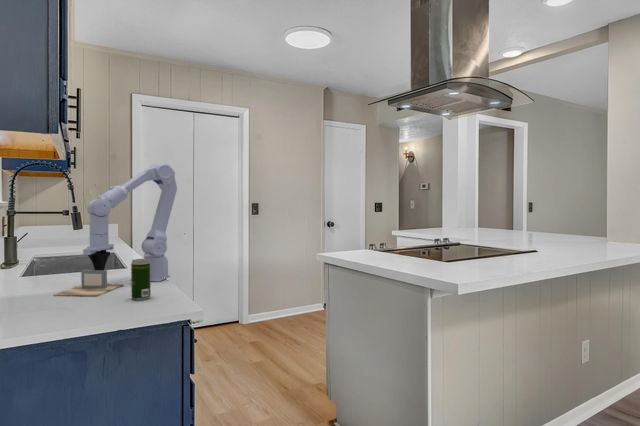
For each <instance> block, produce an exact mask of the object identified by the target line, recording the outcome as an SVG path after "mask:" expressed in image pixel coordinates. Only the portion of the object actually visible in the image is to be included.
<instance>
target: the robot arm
mask: <svg viewBox="0 0 640 426" xmlns="http://www.w3.org/2000/svg"><path fill="white" fill-rule="evenodd" d="M175 175H176V172H175V170H174V169H173V168H172V166H171V165H170V164H169V163H164V162H163V163H160V164H152V165H150V166H149V167H147V168H146V167H145V168H144V169H143V170H141V171H139V172H138V173H137V174H136V175H134V176H132V178H131V179H129V180H128V181H126V182H125V183H124V184H122V185H115V186H114V185H111V186H110V187H109V188H108V189H109V190H107V191H105V192H104V193H103V194H99V195H98V196H97V198H98V199H92V200H91V201H90V202H89V203H88V205H87V207H86V211H87V212H88V213H89V245H88V246H86V248H83V250H82V252H83V253H82V255H83V256H87V257H88V258H89V259H90V261H91V263H92V265H93V268H94V269H93V270H105V269H106V264H107V261H108V258H109V257H110V256H111V251H112V250H114V249H115V245H114V244H112V243H109V214H110V212H111V210H112V209H114V208H115V207H117V206H118V205H120V204H121V203H122V202H124V201H125V200H126V199H128V195H129V193H130V192H132V191H133V190H135V189H137V188H138V187H139V186H141V185H143V184H144V183H146V182H148V181H149V182H150V181H153V183H155V184H156V185H158V187H159V189H160V196H159V199H158V203H157V206H156V210H155V214H154V218H153V221H152V225H151V229H150V230H149V231H148V233H147V234H146V237H145V239H143V240H142V243H141V245H140V246H141V251H143V253H144V254H143V259H149V261H150V282H161V281H165V280H166V279H168V278H171V275H170V274H169V260H168V258H167V256H165V254H166V252H167V250H168V245H167V240H168V237H167V234H166V233H167V232H166V231H167V227H168V224H169V220H170V216H171V213H172V210H173V206H174V203H175V198H176V195H177V191H178V186H177V182H176V177H175ZM164 277H165V278H166V279H165V278H164Z"/></svg>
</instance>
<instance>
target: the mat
mask: <svg viewBox="0 0 640 426" xmlns="http://www.w3.org/2000/svg"><path fill="white" fill-rule="evenodd" d="M121 287H124V284H123V283H122V284H119V283H118V284H117V283H116V284H115V283H107V288H105V289H96V288H82V284H81V285H78V286H74V287H71V288H69V289H66V290H62V291H60V292H57V293H54V294H53V295H52V296H53V297H87V298H89V297H90V298H91V297H99V296H101V295H103V294H106V293H110V292H111V291H114V290H116V289H119V288H121Z"/></svg>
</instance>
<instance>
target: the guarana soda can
mask: <svg viewBox="0 0 640 426" xmlns="http://www.w3.org/2000/svg"><path fill="white" fill-rule="evenodd" d="M130 263H131V264H130V265H131V267H130V271H131V272H130V277H131V278H130V279H131V281H130V283H131V284H130V285H131V298H132V300H133V301H145V300H149V299H150V297H151V281H150V261H149V259H144V258H136V259H132V260H131V262H130Z"/></svg>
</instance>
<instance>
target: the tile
mask: <svg viewBox="0 0 640 426" xmlns="http://www.w3.org/2000/svg"><path fill="white" fill-rule="evenodd" d="M80 273H81V274H80V276H81V278H80V279H81V285H82V288H96V289H105V288H107V284H108V271H107V269H106V270H105V269H104V270H95V269H82V270H80Z"/></svg>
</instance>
